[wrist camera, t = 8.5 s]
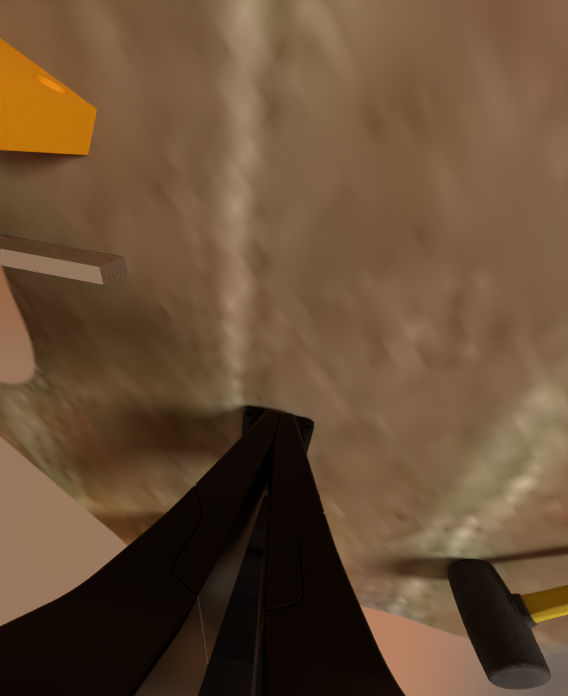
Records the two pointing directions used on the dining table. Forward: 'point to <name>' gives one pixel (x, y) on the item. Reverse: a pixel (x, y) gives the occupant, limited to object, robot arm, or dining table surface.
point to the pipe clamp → (40, 109)
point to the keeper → (60, 260)
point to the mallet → (504, 623)
